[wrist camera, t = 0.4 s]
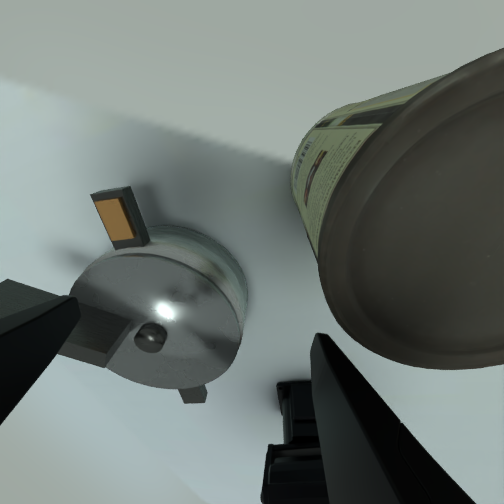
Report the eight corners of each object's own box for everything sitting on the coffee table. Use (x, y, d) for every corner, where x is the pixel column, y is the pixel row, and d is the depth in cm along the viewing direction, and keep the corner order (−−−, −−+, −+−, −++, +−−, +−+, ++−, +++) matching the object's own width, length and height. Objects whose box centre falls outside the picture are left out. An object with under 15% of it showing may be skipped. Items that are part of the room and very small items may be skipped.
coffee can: (418, 223, 21) (634, 361, 9) (298, 241, 23) (330, 381, 10) (431, 83, 17) (913, -59, 4) (281, 118, 18) (302, 92, 6)
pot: (262, 363, 30) (261, 404, 26) (150, 369, 32) (131, 407, 28) (222, 165, 20) (208, 175, 16) (62, 192, 22) (9, 207, 18)
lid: (265, 291, 19) (264, 336, 15) (212, 397, 25) (201, 449, 21) (10, 200, 17) (-73, 222, 13) (22, 339, 24) (-30, 383, 19)
